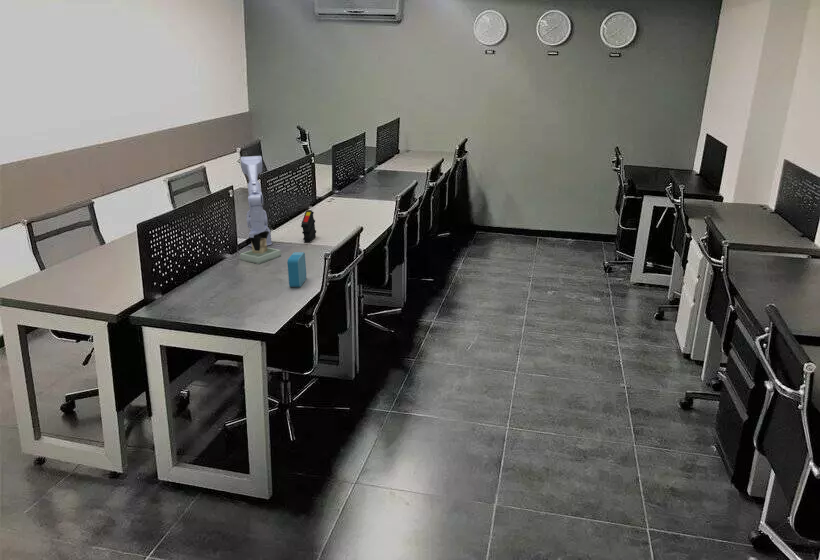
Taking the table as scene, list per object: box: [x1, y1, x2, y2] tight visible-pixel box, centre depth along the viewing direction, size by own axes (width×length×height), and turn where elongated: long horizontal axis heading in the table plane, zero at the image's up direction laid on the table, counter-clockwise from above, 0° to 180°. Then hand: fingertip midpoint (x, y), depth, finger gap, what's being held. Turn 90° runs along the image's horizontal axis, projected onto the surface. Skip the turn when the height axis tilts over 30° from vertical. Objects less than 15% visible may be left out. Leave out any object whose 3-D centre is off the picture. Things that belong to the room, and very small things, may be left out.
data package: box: [287, 251, 307, 288], centre depth 273 cm, size 12×4×12 cm, turn 175°
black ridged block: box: [300, 209, 317, 244], centre depth 334 cm, size 4×13×15 cm, turn 172°
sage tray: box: [239, 246, 282, 265], centre depth 308 cm, size 14×12×3 cm
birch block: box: [250, 238, 268, 254], centre depth 307 cm, size 5×5×6 cm
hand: (260, 248), depth 307 cm, fingers closed on birch block, 5 cm apart
